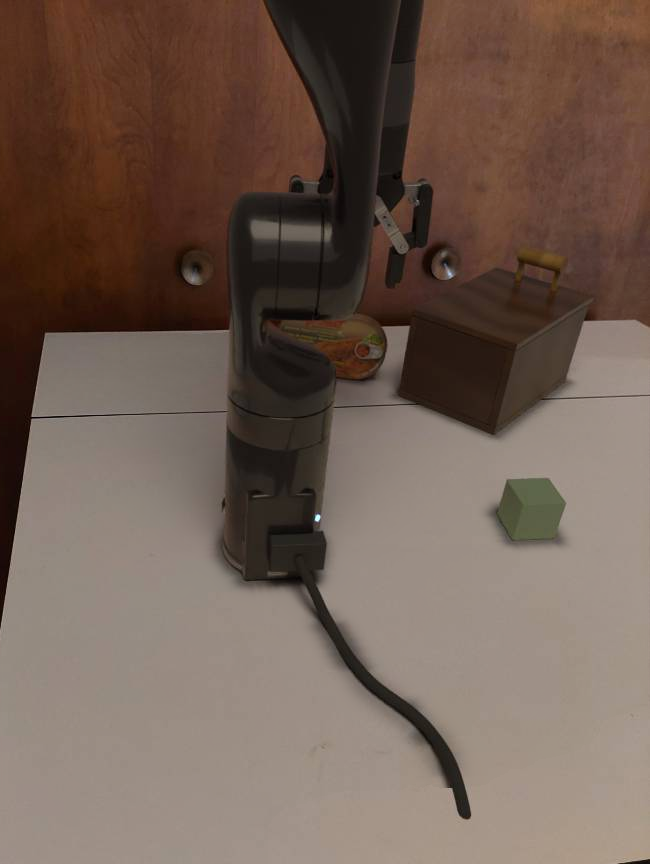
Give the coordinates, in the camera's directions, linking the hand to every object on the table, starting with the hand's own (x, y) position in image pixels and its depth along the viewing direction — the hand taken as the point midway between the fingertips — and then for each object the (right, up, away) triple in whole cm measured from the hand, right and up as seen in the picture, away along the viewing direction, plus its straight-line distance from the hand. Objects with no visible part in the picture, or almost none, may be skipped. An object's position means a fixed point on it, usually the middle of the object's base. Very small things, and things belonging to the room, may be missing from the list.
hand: (349, 285), depth 84 cm
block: (+18, -25, 0) cm, 31 cm away
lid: (+22, +3, +17) cm, 28 cm away
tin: (0, -4, +26) cm, 27 cm away
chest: (+21, -6, +23) cm, 32 cm away
